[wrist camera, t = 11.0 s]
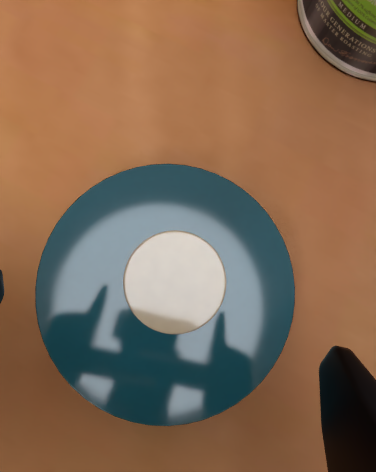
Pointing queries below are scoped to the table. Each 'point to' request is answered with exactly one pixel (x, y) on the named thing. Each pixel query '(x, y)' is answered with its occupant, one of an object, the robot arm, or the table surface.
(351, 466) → the robot arm
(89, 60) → the table surface
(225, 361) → the lid
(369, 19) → the coffee can
